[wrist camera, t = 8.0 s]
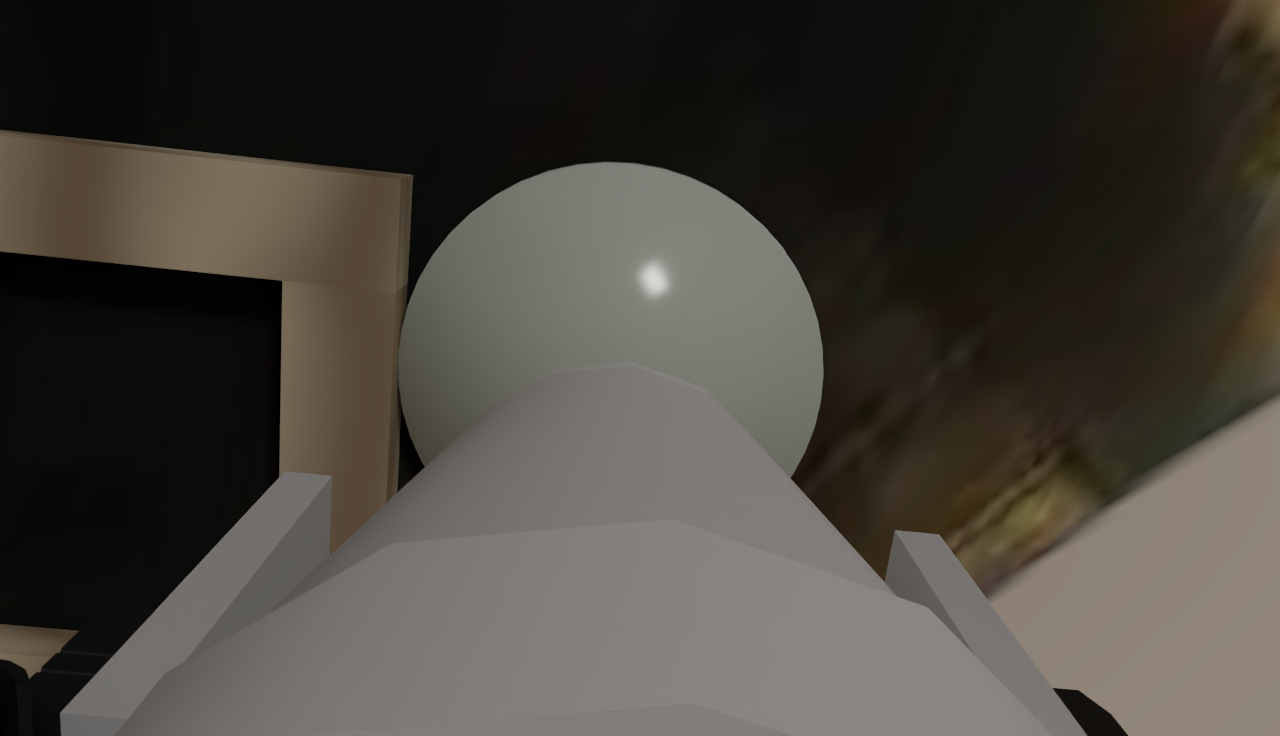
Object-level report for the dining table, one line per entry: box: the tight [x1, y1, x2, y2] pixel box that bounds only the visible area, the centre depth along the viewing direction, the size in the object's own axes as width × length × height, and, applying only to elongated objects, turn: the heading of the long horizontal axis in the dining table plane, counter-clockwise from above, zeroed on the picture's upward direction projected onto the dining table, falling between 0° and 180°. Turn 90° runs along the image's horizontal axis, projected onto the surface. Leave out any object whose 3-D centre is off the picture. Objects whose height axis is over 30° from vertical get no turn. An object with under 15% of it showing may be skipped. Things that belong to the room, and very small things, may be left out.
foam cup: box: [114, 362, 1053, 736], centre depth 13 cm, size 10×9×13 cm
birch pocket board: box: [0, 130, 413, 679], centre depth 28 cm, size 18×18×2 cm
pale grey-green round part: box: [398, 161, 823, 478], centre depth 28 cm, size 12×12×1 cm
